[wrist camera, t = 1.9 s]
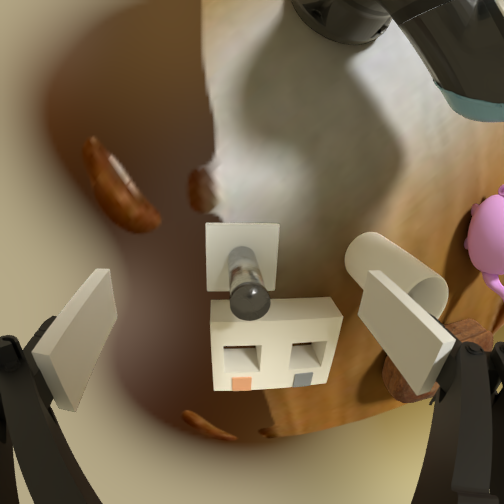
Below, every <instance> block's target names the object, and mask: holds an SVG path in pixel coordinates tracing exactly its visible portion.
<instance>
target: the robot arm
mask: <svg viewBox="0 0 504 504" xmlns="http://www.w3.org/2000/svg"><path fill="white" fill-rule="evenodd" d="M449 1H450V2H449ZM292 3H293V6H294V8H295V10H296V12H297V13H298V15H299V16H300V17H301V19H302V20H303V21H304V22H305V23H306V24H307V25H308V26H309V27H311V28H312V29H313V30H315V31H316V32H318V33H319V34H321V35H323V36H324V37H326V38H329V39H331V40H333V41H336V42H340V43H344V44H353V45H356V44H364V43H367V42H370V41H372V40H374V39H375V38H377V37H379V36H380V35H382V34H383V33H384V32H385V31H386V29H387V28H388V26H389V24H390V22H391V20H392V18H393V20H394V21H395V22H396V23H397V25H398V26H399V28H400V29H401V30H402V32H403V33H404V34H405V36H406V37H407V38H408V40H409V41H410V43H411V44H412V46H413V47H414V49H415V50H416V52H417V53H418V55H419V56H420V58H421V59H422V61H423V63H424V64H425V66H426V67H427V69H428V71H429V72H430V74H431V76H432V78H433V81H434V83H435V85H436V86H437V87H438V88H439V89H440V90H441V92H442V94H443V95H444V97H445V99H446V100H447V102H448V104H449V106H450V107H451V108H452V109H453V110H454V111H455V112H456V113H458V114H460V115H462V116H463V117H465V118H467V119H470V120H474V121H480V122H504V0H292ZM442 4H443V5H442ZM437 6H438V7H437ZM435 7H436V8H435ZM433 8H434V9H433ZM430 9H431V10H430ZM428 10H429V11H428ZM426 11H427V12H426ZM424 12H425V13H424ZM422 13H423V14H422ZM417 15H418V16H417ZM415 16H416V17H415ZM413 17H414V18H413ZM411 18H412V19H411ZM409 19H410V20H409ZM407 20H408V21H407ZM358 316H359V317H360V319H361V320H362V321H363V323H364V324H365V325H366V327H367V328H368V329H369V331H370V332H371V333H372V334H373V336H374V337H375V339H376V340H377V341H378V343H379V344H380V345H381V347H382V348H383V349H384V351H385V352H386V353H387V355H388V356H389V357H390V359H391V360H392V362H393V363H394V364H395V366H396V367H397V368H398V370H399V371H400V373H401V374H402V375H403V377H404V378H405V380H406V381H407V382H408V384H409V385H410V387H411V388H412V390H413V391H414V392H415V394H416V395H417V396H418V395H421V394H424V393H427V392H430V390H431V389H432V387H433V385H434V383H435V381H436V382H437V383H438V384H439V385H440V386H439V388H438V390H437V391H436V393H435V395H434V396H433V398H432V400H431V401H430V404H429V405H432V403H433V402H434V401H435V405H434V413H433V419H432V425H431V430H430V435H429V440H428V445H427V449H426V454H425V458H424V462H423V466H422V469H421V473H420V477H419V480H418V484H417V487H416V490H415V493H414V496H413V499H412V502H411V504H504V342H497V343H496V344H495V346H494V348H493V350H492V351H484V350H483V348H482V347H481V346H479V345H478V344H476V343H473V342H469V341H466V342H463V343H462V342H461V341H460V340H459V339H458V338H457V337H456V336H455V335H454V334H453V333H452V332H451V331H449V330H448V329H447V328H445V326H444V325H443V324H442V323H440V321H439V320H438V319H437V318H436V317H435V316H433V315H431V314H430V313H428V312H426V311H425V310H424V309H423V308H422V307H421V306H420V305H419V304H417V303H416V302H415V301H414V300H413V299H412V298H411V297H410V296H409V295H408V294H406V293H405V292H404V291H403V290H402V289H401V288H400V287H398V286H397V285H396V284H395V283H394V282H393V281H392V280H390V279H389V278H388V277H387V276H386V275H385V274H384V273H382V272H381V271H380V270H368V273H367V278H366V282H365V287H364V291H363V295H362V299H361V303H360V308H359V311H358ZM117 317H118V316H117V311H116V306H115V300H114V294H113V288H112V281H111V275H110V269H95V271H94V272H93V273H92V274H91V275H90V277H89V278H88V279H87V280H86V281H85V282H84V284H83V285H82V286H81V287H80V289H79V290H78V291H77V292H76V294H75V295H74V296H73V297H72V298H71V299H70V301H69V302H68V303H67V305H66V306H65V307H64V308H63V310H62V311H61V312H60V313H59V315H58V316H52V317H51V318H49V319H47V320H46V321H45V322H44V323H43V324H42V325H41V326H40V328H39V330H38V331H37V332H36V333H35V334H34V337H32V338H31V340H30V341H29V342H28V344H27V345H26V346H25V348H24V349H23V350H22V348H21V346H20V343H19V341H18V339H17V338H16V337H14V336H11V335H6V336H1V337H0V504H19V499H18V493H17V486H16V479H15V470H14V459H13V448H14V451H15V454H16V457H17V460H18V463H19V466H20V469H21V472H22V474H23V477H24V480H25V482H26V485H27V487H28V490H29V492H30V495H31V497H32V499H33V501H34V504H102V502H101V501H100V499H99V498H98V496H97V495H96V493H95V492H94V490H93V488H92V487H91V485H90V484H89V482H88V480H87V479H86V477H85V475H84V474H83V472H82V470H81V468H80V467H79V464H78V463H77V461H76V459H75V457H74V455H73V453H72V451H71V449H70V447H69V445H68V443H67V441H66V439H65V437H64V435H63V433H62V431H61V429H60V426H59V424H58V422H57V419H56V417H55V415H54V412H53V410H52V408H51V407H50V404H51V402H52V400H53V398H54V400H55V402H56V404H57V406H58V408H60V409H63V410H68V411H72V412H76V410H77V408H78V405H79V403H80V400H81V398H82V395H83V393H84V390H85V388H86V385H87V383H88V381H89V378H90V376H91V374H92V371H93V369H94V367H95V365H96V362H97V360H98V358H99V355H100V353H101V351H102V349H103V347H104V345H105V342H106V340H107V338H108V336H109V334H110V332H111V330H112V328H113V326H114V323H115V322H116V320H117ZM501 382H502V384H503V388H502V389H501V391H500V392H499V394H498V393H497V391H496V389H497V388H498V386H499V385H500V383H501ZM489 490H490V493H489Z"/></svg>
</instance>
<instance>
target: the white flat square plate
mask: <svg viewBox="0 0 504 504" xmlns="http://www.w3.org/2000/svg"><path fill="white" fill-rule="evenodd" d="M279 229H280V225H279V224H278V223H206V274H207V275H206V277H207V291H230V286H229V272H228V255H229V253H230V252H231V251H232V250H233V249H234V248H236V247H239V246H246V247H249V248H250V249H252V250H253V251H254V253H255V255H256V258H257V261H258V264H259V268H260V271H261V274H262V277H263V281H264V284H265V287H266V289H267V291H275V282H276V270H277V257H278V243H279Z"/></svg>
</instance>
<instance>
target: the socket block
mask: <svg viewBox="0 0 504 504" xmlns="http://www.w3.org/2000/svg"><path fill="white" fill-rule="evenodd" d="M270 301H271V304H270V308H269V310H268V312H267V313H266V314H265V315H264V316H263V317H261V318H260V319H257V320H253V321H245V320H241V319H239V318H237V317H236V316H235V315H234V314H233V313H232V311H231V309H230V300H211V309H210V333H211V351H212V352H211V353H212V369H213V385H214V391H225V390H226V391H229V390H232V391H247V390H255V389H273V388H286V387H301V386H310V385H315V384H323V383H326V382H327V378H328V375H329V371H330V368H331V364H332V360H333V357H334V353H335V349H336V345H337V341H338V337H339V333H340V329H341V325H342V320H343V315H342V314H341V312H340V311H339V309H338V308H337V306H336V305H335V303H334V302H333V300H332V299H331V297H314V298H287V299H270ZM306 342H312V345H299V346H292V343H306ZM249 345H250V346H251V345H256V347H255V348H239V349H238V348H237V349H223V346H249Z"/></svg>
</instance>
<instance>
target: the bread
mask: <svg viewBox="0 0 504 504" xmlns="http://www.w3.org/2000/svg"><path fill="white" fill-rule="evenodd" d="M444 326H445V328H447V329H448V330H449V331H451V332H452V333H453V334H454V335H455V336H456V337H457V338H458V339H459V340H460V341H461V342H462V343H463V342H466V341H469V342H473V343H476V344H478V345H479V346H481V347H482V348H483V350H484V351H492V347H493V335H492V333H491V332H490V331H486V329H484V328H483V327H482V326H481V325H480V324H479V323H478V322H477V321H475V320H473V319H465V320H461V321H459V322H455V323H451V324H446V325H444ZM382 378H383V381H384V384H385V387H386V388H387V390H388V391H389V393H390V394H391V395H392V396H393V397H394V398H395V399H396V400H397V401H400V402H402V403H413V402H416V401H420V400H423V399H427V398H431V397H433V396H434V395H435V393H436V391H437V390H438V388H439V386H440V385H439V384H438V383H437V382H436V381H435V383H434V385H433V387H432V389H431V390H430V392H427V393H424V394H421V395H418V396H417V395H416V394H415V392H414V391H413V390H412V388H411V387H410V385H409V384H408V382H407V381H406V380H405V378H404V377H403V375H402V374H401V373H400V371H399V370H398V368H397V367H396V366H395V364H394V363H393V362H392V360H391V359H390V357H389V356H388V355H387V357H386V359H385V362H384V366H383V370H382Z"/></svg>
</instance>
